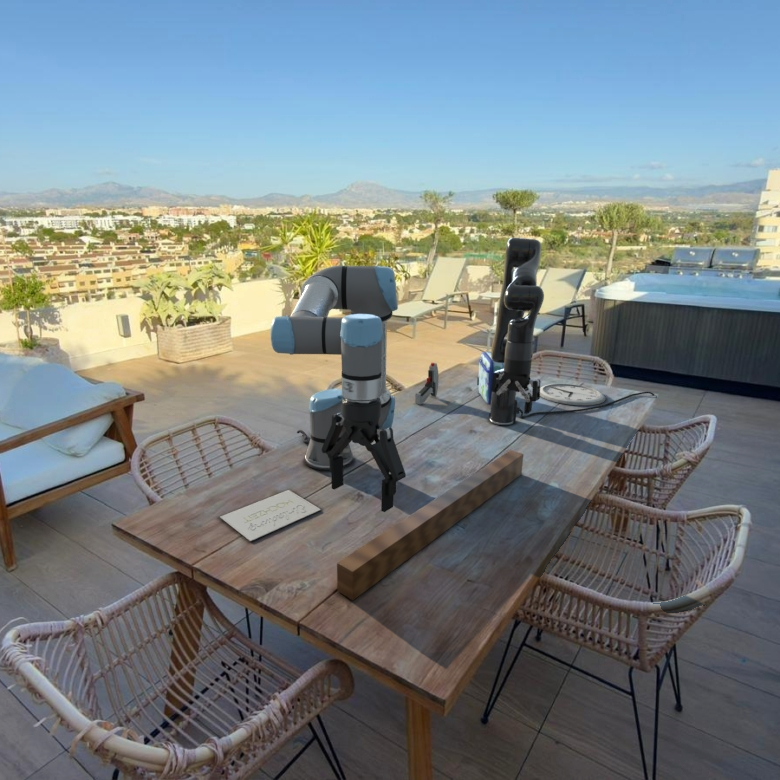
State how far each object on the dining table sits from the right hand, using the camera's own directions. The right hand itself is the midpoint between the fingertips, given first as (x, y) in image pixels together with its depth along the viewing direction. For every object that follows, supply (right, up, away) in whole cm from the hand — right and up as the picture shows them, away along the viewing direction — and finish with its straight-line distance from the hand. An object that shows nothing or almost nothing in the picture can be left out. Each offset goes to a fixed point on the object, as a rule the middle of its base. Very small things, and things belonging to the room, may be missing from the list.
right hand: (513, 410), depth 153 cm
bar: (-21, -28, -17) cm, 39 cm away
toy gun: (-20, +1, +77) cm, 80 cm away
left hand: (-42, -16, -48) cm, 66 cm away
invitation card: (-68, -27, -15) cm, 74 cm away
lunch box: (+9, +2, +80) cm, 81 cm away
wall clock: (+47, +3, +88) cm, 100 cm away
